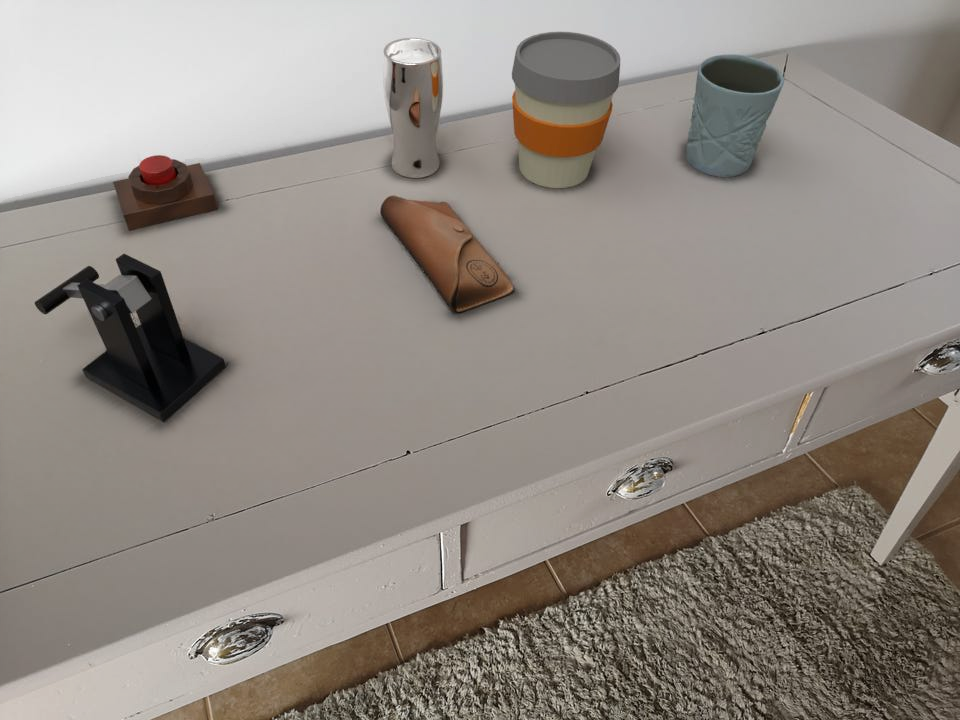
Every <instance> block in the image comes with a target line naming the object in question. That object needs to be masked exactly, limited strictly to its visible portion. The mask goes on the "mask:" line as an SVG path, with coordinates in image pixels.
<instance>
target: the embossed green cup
mask: <svg viewBox="0 0 960 720" xmlns="http://www.w3.org/2000/svg"><path fill="white" fill-rule="evenodd" d="M784 84H785V77H784V75H783V73H782V72H781V70H780V69H779V68H778V67H776V66H775V65H773V64H771V63H770V62H767V61H766V60H763V59H761V58H756V57H752V56H748V55H743V54H718V55H714V56H710V57H708V58H706V59H704V60H703V61H702V62H701V63H700V64H699V66H698V68H697V74H696V81H695V92H694V96H693V102H694V103H692V111H691V118H690V127H689V131H688V136H687V144H686V147H685V159H686V161H687V162H688V164H689V165H690V166H691V167H693V168H694V169H696V170H697V171H699V172H701V173H703V174H706V175H709V176H712V177H717V178H732V177H736V176H740V175H742V174H744V173H746V172H747V171H748V170H749V169H750V167H751V165H752V163H753V160H754V158H755V156H756V152H757V149H758V145H759V143H760V142H761V140H762V137H763V135H764V132H765V131H766V128H767V121H768V120H769V118H770V116H771V115H772V112H773V111H774V108H775V105H776V103H777V101H778V98H779V95H780V94H781V91H782V89H783V87H784Z"/></svg>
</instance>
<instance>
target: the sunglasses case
mask: <svg viewBox="0 0 960 720" xmlns="http://www.w3.org/2000/svg"><path fill="white" fill-rule="evenodd" d="M380 205H381V206H380V210H379V211H380V212H379V213H380V216H381V218H382V219H383V221H384V222H385V223H386V224H387V227H389V228H390V230H391V231H392V232H393V233H394V235H395V236H396V237H397V238H398V240H399V241H400V242H401V244H402V245H403V246H404V247H405V249H406V250H407V252H408V253H409V254H410V255H411V257H412V258H413V259H414V261H415V262H416V263H417V265H418V266H419V268H421V270H422V271H423V273H424V274H425V275H426V276H427V278H428V279H429V282H431V284H432V285H433V286H434V288H435V289H436V291H437V292H438V294H439V295H440V296H441V298H442V299H443V300H444V302H445V303H446V304H447V305H448V306H449V308H451V309H453V310H454V311H455V312H456V313H462V312H463V313H464V312H465V311H466V312H467V311H469V310H472V309H475V308H479V307H481V306H484V305H487V304H489V303H492V302H494V301H496V300H497V301H498V300H499V299H502V298H504V297H506V296H509V295H510V294H512V292H514V290H515V286H514V284H513V282H512V280H511V279H510V278H509V276H508V275H507V274H506V273H505V271H504V270H503V269H502V268H501V266H500V265H499V264H498V263H497V261H496V260H495V259H494V258H493V257H492V255H491V254H490V252H488V251H487V249H486V248H485V247H484V246H483V244H482V243H481V242H480V241H479V240H478V239H477V238H476V236H475V235H474V234H473V232H472V231H471V230H470V229H469V227H468V226H467V225H466V224H465V223H464V221H462V219H461V217H460V216H459V215H458V214H457V213H456V211H455V210H454V209H453V208H452V206H451V205H450V204H449V203H448V202H447V201H440V202H438V201H437V202H436V201H429V200H428V201H427V200H416V199H407V198H403V197H401V196H397V195H389V196H387V197H386V198H385V199H384V200H383V202H382V203H381V204H380Z"/></svg>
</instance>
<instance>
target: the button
mask: <svg viewBox="0 0 960 720" xmlns="http://www.w3.org/2000/svg"><path fill="white" fill-rule="evenodd" d="M171 159H172V158H171V157H169V156H167V155H161V154H157V155H151V156H149V157H145V158H144V159H143V160H141V161H140V162H139V164H138V166H139V168H140V172H141V175H142V178H143V180H144V182H145V183H146V184H148V185H162V184H166V183H169V182H170V181H172V180H174V179H175V177H176V172H175V169H174V165H173V162H172V160H171Z"/></svg>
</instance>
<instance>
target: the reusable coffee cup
mask: <svg viewBox="0 0 960 720" xmlns="http://www.w3.org/2000/svg"><path fill="white" fill-rule="evenodd" d="M514 53H515V54H514V58H513V65H512V71H511V79H512V81H513V84H514V88H515V89H514V91H513V93H512V97H511V100H512V101H511V102H512V119H513V120H512V121H513V133H514V137H515V138H516V140H517V147H518V165H519V167H518V169H519V172H520V173H521V174H522V175H523V177H524V178H525V179H526V180H528V181H529V182H531V183H533V184H535V185H538V186H541V187H545V188H550V189H566V188H571V187H574V186H577V185H579V184H581V183H583V182H584V181H585V180H586V179H587V178H588V175H589V173H590V170H591V167H592V163H593V160H594V157H595V154H596V150H597V149H598V148H599V146H601V144H602V142H603V140H604V136H605V133H606V130H607V127H608V124H609V120H610V116H611V114H612V111H613V106H614V105H613V101H612V100H613V96H614V94H615V93H616V92H617V90H618V88H619V84H620V73H621V56H620V53H619V52H618V51H617V49H616V48H615V47H614V46H612V44H610V43H608V42H606V41H605V40H603V39H600V38H597V37H595V36H592V35H589V34H584V33H580V32H573V31H548V32H542V33H541V32H540V33H537V34H533V35H531V36H529V37H527V38H525V39H523V40H522V41H520V42H519V44H518V45H517V46H516V49H515V52H514Z"/></svg>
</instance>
